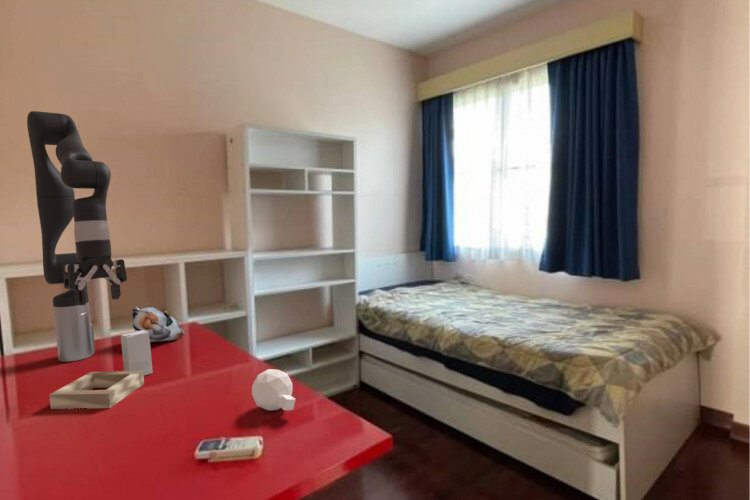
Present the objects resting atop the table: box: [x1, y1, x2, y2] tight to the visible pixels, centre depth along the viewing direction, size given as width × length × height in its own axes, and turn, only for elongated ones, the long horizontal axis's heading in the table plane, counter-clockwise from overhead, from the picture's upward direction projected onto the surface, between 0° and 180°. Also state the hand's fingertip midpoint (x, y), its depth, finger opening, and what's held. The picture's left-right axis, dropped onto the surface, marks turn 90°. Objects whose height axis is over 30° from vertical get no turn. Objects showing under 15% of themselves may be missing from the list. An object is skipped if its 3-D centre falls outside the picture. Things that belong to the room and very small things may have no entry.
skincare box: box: [120, 330, 154, 377], centre depth 118 cm, size 6×4×12 cm
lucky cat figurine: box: [132, 306, 186, 343], centre depth 151 cm, size 17×14×16 cm
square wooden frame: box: [49, 370, 145, 410], centre depth 106 cm, size 14×14×4 cm
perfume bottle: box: [251, 368, 297, 411], centre depth 95 cm, size 9×9×12 cm
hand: (99, 302), depth 110 cm, fingers open, 8 cm apart
